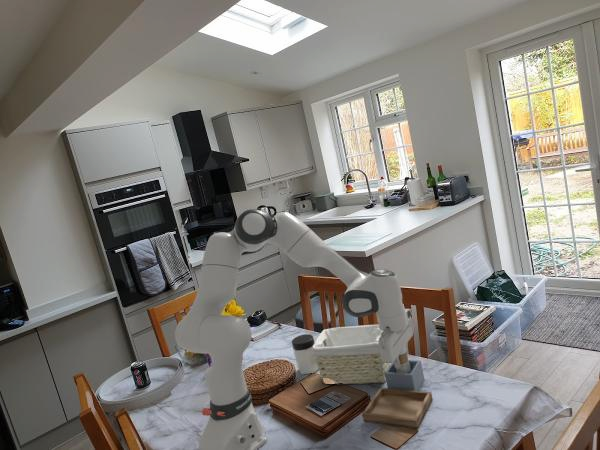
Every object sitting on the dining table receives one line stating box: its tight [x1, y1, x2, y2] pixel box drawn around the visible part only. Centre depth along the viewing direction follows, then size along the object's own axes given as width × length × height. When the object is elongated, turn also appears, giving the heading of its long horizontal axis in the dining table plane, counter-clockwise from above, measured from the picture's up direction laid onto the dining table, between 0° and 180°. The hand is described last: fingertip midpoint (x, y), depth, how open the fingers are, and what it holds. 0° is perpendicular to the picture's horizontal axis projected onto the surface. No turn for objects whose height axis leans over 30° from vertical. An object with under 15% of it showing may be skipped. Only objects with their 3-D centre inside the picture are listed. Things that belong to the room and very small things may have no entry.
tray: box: [361, 387, 434, 430], centre depth 134 cm, size 14×16×2 cm
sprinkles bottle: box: [396, 345, 411, 374], centre depth 145 cm, size 5×5×13 cm
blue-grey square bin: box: [384, 359, 425, 391], centre depth 146 cm, size 9×9×6 cm
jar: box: [291, 333, 319, 375], centre depth 172 cm, size 9×8×12 cm
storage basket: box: [312, 324, 391, 385], centre depth 160 cm, size 24×16×15 cm
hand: (401, 362), depth 145 cm, fingers closed on sprinkles bottle, 4 cm apart
